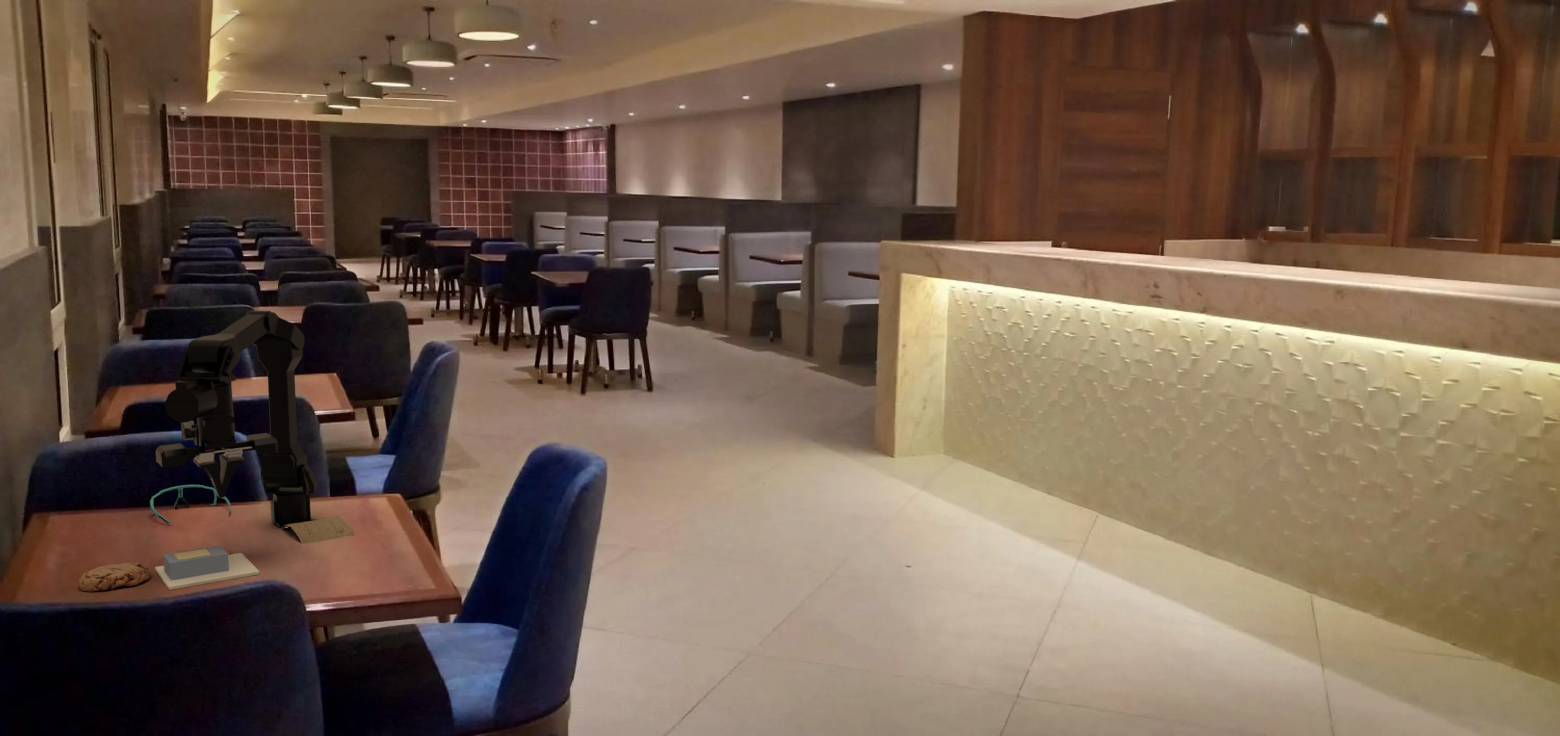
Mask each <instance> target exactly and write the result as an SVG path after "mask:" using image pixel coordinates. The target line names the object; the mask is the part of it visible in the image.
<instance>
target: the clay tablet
mask: <svg viewBox="0 0 1560 736" xmlns="http://www.w3.org/2000/svg"><path fill="white" fill-rule="evenodd" d="M313 520H314V519H313ZM285 527H291V529H292V531H293V532H295V534H296V536H297V537H298V539H299V540H300V543H301V544H311V543H317V542H323V541H330V540H336V539H341V537H342V538H346V537H345V536H349V537H354V536H355V531H353V528H352V526H351V524H349V522H348V521H346V520H344V518H343V517H341V516H334V517H329V518H328V517H327V518H324V519H315V520H314V521H307V522H301V523H293V524H288V525H285V526H283V527H281V528H285ZM285 529H286V528H285Z"/></svg>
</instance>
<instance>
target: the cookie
mask: <svg viewBox="0 0 1560 736" xmlns="http://www.w3.org/2000/svg"><path fill="white" fill-rule="evenodd" d="M151 578H152V572H151V571H150V570H149V566H148V564H145V563H143V562H134V563H132V562H122V563H119V564H114V563H113V564H106V565H102V566H98V567H96V568H93V569H91V570H89V571H87V572H84V573H83V574H82V575H81V576H80V578H79V580H78V584H79V587H78V589H80V591H82V592H91V593H92V592H95V591H97V592H98V591H105V590H106V591H109V590H113V589H115V588H119V587H122V586H124V585H125V586H126V587H133V586H137V585H139V584H140V583H143V582H145V581H148V580H150V579H151Z"/></svg>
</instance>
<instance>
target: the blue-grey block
mask: <svg viewBox="0 0 1560 736" xmlns="http://www.w3.org/2000/svg"><path fill="white" fill-rule="evenodd" d="M162 555H163V557H162V558H163V566H164V572H165V573H166V574H167V576H168V577H169V578H170V580H177V579H183V578H189V577H195V576H200V575H206V574H212V573H218V572H224V571H229V562H228V555H229V553H228V552H227V551H226V549H224V548H223V547H222V546H221V545H216V546H215V545H214V546H209V547H201V548H196V549H190V550H184V551H183V550H182V551H178V552H176V551H175V552H171V553H165V554H162Z"/></svg>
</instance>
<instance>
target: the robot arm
mask: <svg viewBox="0 0 1560 736" xmlns="http://www.w3.org/2000/svg"><path fill="white" fill-rule="evenodd" d="M305 341H306V340H305V334H304V333H303V332H302V331H301V330H300V329H299V328H298V327H297V325H296V324H295V323H292V322H290V321H288V320H286V319H285V318H284V319H283V318H282V317H280V316H279V315H277V313H276V312H272V311H271V310H249V311H246V312H245V313H244V314H243V317H240V318H239V319H238V320H236V321H235V322H233V323H232V324H230V325H229V326H227V327H226V328H225V329H223V330H222V331H220V332H219V333H216V334H212V335H205V336H200V337H197V338H194V339H193V338H192V340H190V342H188V343H187V346H186V348H185V350H184V352H183V356H182V359H181V362H180V366H179V370H178V372H177V375H176V379H175V380H176V382H175V383H174V385H175V389H173V390H171V391H170V392H169V394H167V396H166V400H165V402H164V408H165V411H166V413H167V415H168V416H169V418H171V419H172V420H174V421H176V422H178V423H180V429H181V430H180V432H181V437H182V440H183V441H191V440H193V442H194V443H193V444H194V445H195V446H193V447H185V446H184V445H183V444H182V443H173V444H172V443H171V444H164V445H159V446H157V448H156V449H155V461H156V463H158V465H159V466H161V468H171V467H172V468H173V467H174V468H175V467H179V466H184V465H185V464H186V463H187V462H188V460H189V459H192V461H193V463H194V464H195V465H196V466H197V467H198V468H201V469H203V468H204V470H205V472H206V473H207V475H208V477H209V479H210V481H211V483H212V486H213V488H214V489H215V490H216V492H217V495H218V496H217V497H218V498H219V499H222V498H223V497H226V494H227V491H228V488H229V485H230V484H231V481H232V478H233V475H234V474H235V472H236V469H237V468H238V466H239V464H240V463H244V462H245V457H243V456H242V455H243V454H244V453H243V452H250V451H255V452H256V453H257V454H259V455H260V456H261V457H260V464H261V467H260V468H261V470H260V479H261V483H262V487H263V490H264V494H265V495H272V500H270V503H269V504H270V517H271V518H270V519H271V521H272V522H273V523H274V524H275V523H276V524H277V525H276V524H275V525H276V526H278V527H279V528H282V527H283V526H285V525H288V524H293V523H301V522H307V521H314V519H313V518H312V515H311V497H310V495H311V494H315V493H316V491H317V490H318V478H317V476H316V475H315V473H314V472H313V470H312V469H311V468H310V466H309V463H308V462H309V461H308V455H307V453H306V451H304V449H303V447H302V446H301V445H300V444H299V442H298V428H297V427H298V424H297V421H298V420H297V401H296V400H297V399H296V397H297V396H296V376H295V370H296V369H297V366H298V365H299V363H300V361H301V360H302V358H303V355H304V353H303V352H304V347H305ZM252 345H253V346H254V347H255V348H256V354H257V360H258V361H259V362H260V363H261V365H262V366H263V368H264V369H265V370H266V372H267V388H268V389H267V390H268V391H267V392H268V409H269V410H268V411H269V412H268V413H269V414H268V415H269V433H268V432H263V433H255V434H248V435H247V436H246V440H240V441H237V440H236V431H235V430H236V427H235V423H236V420H235V418H236V417H235V415H234V414H235V413H234V403H233V389H232V388H233V387H232V382H234V381H236V380H237V377H236V375H235V374H233V373H232V372H233V371H234V368H235V367H236V366H237V365H238V364H239V362H240V360H241V359H240V354H241V353H242V352H243V351H245V350H246V349H247V348H249V347H250V346H252ZM194 420H196V423H195V422H194ZM215 456H218V457H219V462H220V465H219V462H218V461H216V460H215Z"/></svg>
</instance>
